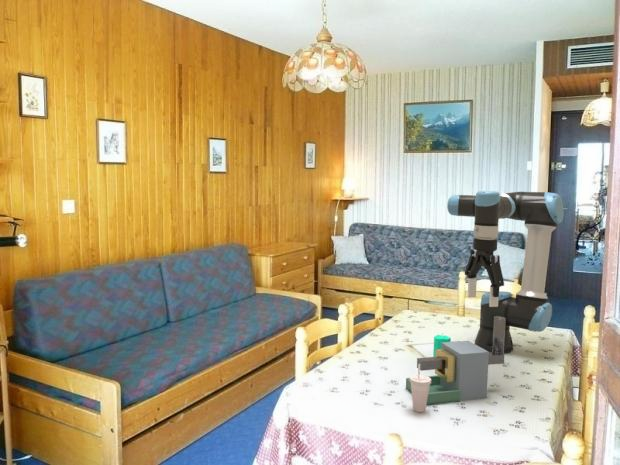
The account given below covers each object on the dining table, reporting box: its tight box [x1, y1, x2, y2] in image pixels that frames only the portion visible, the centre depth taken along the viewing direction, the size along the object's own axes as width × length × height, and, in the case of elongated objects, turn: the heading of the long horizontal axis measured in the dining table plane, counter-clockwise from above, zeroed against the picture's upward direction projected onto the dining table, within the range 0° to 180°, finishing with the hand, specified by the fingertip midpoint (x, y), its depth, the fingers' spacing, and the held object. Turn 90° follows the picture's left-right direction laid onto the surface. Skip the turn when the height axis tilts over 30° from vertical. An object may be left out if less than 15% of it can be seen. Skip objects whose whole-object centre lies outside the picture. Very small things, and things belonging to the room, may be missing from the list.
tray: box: [405, 374, 461, 406], centre depth 175 cm, size 12×14×4 cm
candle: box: [432, 332, 452, 357], centre depth 203 cm, size 6×6×12 cm
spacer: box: [434, 349, 455, 382], centre depth 176 cm, size 2×8×8 cm, turn 15°
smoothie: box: [409, 364, 431, 413], centre depth 164 cm, size 6×6×14 cm
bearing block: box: [440, 340, 489, 401], centre depth 178 cm, size 10×12×15 cm
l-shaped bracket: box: [416, 316, 506, 372], centre depth 176 cm, size 30×4×15 cm, turn 105°
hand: (482, 301), depth 181 cm, fingers open, 13 cm apart
